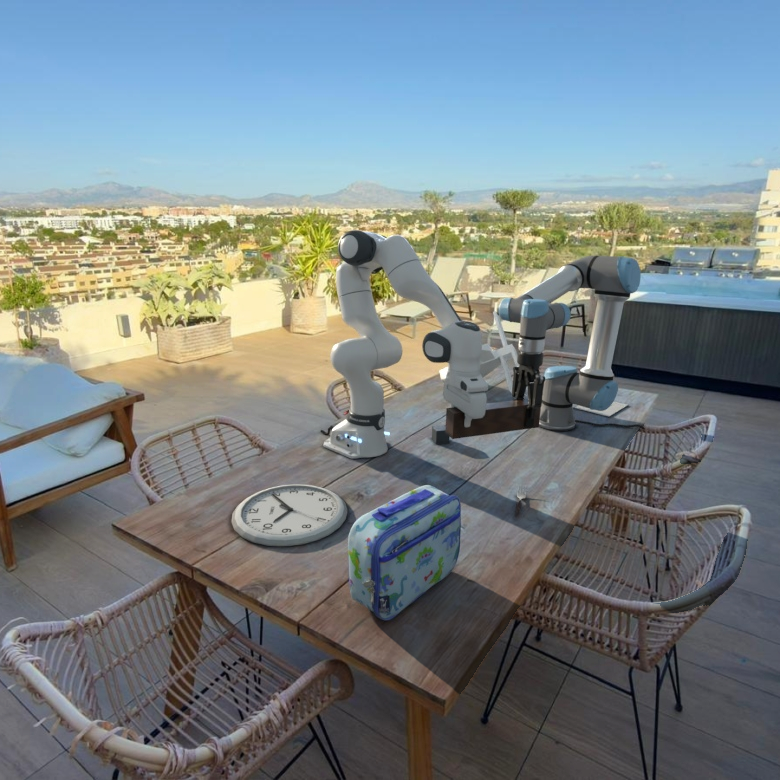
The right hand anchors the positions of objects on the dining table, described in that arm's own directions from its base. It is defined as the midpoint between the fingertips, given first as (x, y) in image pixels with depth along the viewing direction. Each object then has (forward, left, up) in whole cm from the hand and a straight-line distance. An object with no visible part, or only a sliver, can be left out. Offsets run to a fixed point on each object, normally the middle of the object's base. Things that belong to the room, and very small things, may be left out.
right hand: (523, 423), depth 164 cm
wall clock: (+64, +39, -15) cm, 76 cm away
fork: (+3, +25, -15) cm, 29 cm away
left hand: (+20, +10, +3) cm, 22 cm away
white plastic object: (+9, -78, -15) cm, 80 cm away
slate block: (+26, -17, -15) cm, 34 cm away
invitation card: (-42, -66, -15) cm, 80 cm away
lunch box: (+31, +65, -15) cm, 74 cm away
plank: (+10, +5, -1) cm, 11 cm away
